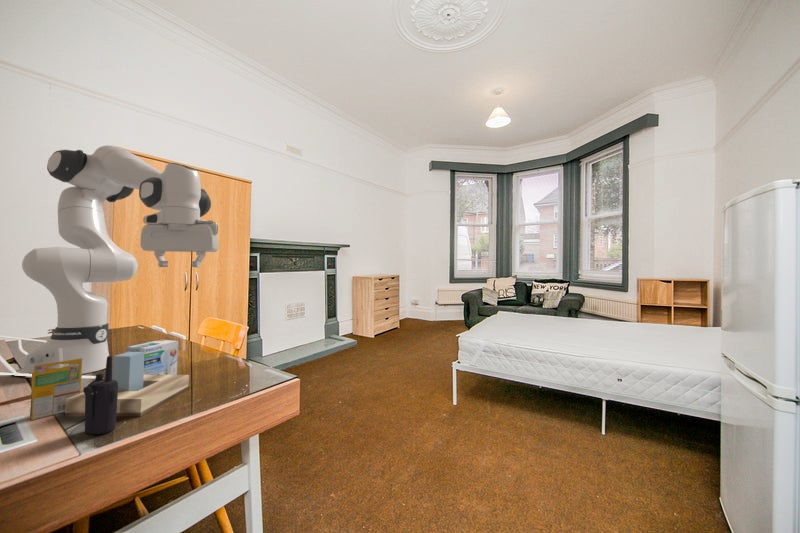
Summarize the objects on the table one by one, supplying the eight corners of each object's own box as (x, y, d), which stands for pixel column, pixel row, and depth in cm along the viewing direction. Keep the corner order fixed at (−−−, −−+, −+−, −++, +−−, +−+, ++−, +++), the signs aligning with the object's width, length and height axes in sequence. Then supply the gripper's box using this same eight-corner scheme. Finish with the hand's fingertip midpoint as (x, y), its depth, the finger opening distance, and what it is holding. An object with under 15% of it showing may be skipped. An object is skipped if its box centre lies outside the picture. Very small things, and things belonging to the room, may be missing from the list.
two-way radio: (120, 428, 61) (123, 354, 61) (95, 440, 57) (99, 360, 57) (98, 425, 62) (101, 352, 62) (71, 437, 57) (75, 358, 58)
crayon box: (78, 405, 71) (80, 356, 71) (80, 408, 69) (83, 358, 70) (29, 416, 65) (32, 363, 65) (30, 420, 63) (33, 365, 64)
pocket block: (65, 416, 65) (65, 398, 66) (128, 388, 81) (128, 374, 81) (140, 416, 66) (141, 399, 66) (188, 388, 82) (189, 374, 82)
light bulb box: (142, 387, 82) (144, 348, 83) (123, 385, 84) (124, 346, 84) (178, 375, 93) (179, 340, 93) (160, 373, 94) (162, 338, 95)
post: (111, 403, 71) (113, 356, 71) (126, 396, 75) (128, 351, 75) (128, 403, 71) (130, 356, 71) (142, 396, 75) (144, 352, 75)
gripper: (223, 222, 90) (222, 268, 90) (154, 221, 90) (152, 267, 89) (211, 218, 84) (209, 267, 84) (137, 217, 83) (134, 266, 83)
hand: (179, 267), depth 86 cm, fingers open, 8 cm apart
